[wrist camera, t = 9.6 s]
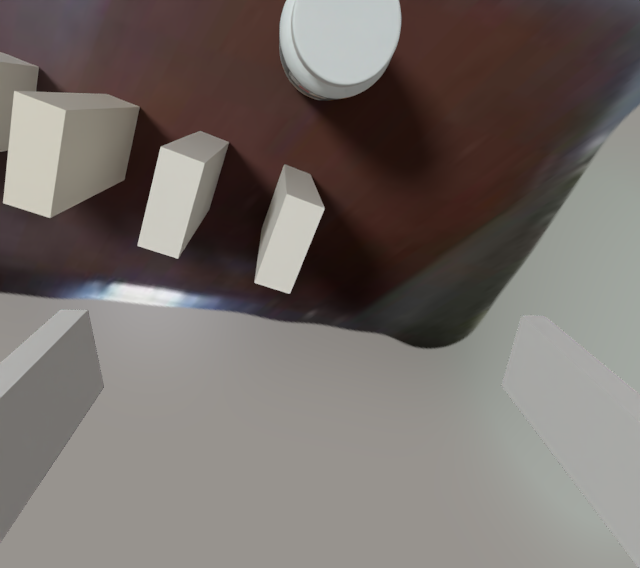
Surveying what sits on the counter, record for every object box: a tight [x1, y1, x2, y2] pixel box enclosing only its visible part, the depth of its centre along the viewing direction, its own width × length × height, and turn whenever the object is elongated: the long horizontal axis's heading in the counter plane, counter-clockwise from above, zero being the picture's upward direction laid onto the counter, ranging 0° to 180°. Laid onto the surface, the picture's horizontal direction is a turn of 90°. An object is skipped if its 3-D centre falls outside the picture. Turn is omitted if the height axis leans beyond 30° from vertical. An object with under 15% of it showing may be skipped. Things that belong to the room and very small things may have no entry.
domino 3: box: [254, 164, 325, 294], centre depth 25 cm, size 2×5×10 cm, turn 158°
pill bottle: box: [279, 0, 401, 101], centre depth 21 cm, size 6×6×10 cm
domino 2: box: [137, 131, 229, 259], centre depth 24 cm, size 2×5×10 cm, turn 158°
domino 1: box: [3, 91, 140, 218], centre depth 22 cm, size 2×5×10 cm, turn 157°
